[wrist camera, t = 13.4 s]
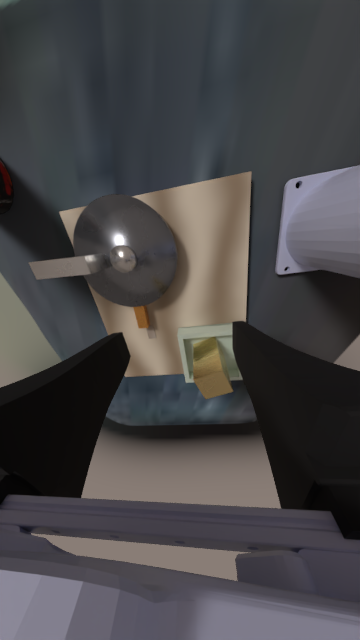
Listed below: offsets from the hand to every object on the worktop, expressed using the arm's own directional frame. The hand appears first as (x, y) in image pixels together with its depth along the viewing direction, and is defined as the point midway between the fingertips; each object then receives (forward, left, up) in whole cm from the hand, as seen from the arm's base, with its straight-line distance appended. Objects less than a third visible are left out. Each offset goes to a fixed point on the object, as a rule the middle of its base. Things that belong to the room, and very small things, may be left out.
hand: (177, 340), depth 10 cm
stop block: (-2, +8, -9) cm, 12 cm away
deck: (+2, +1, -10) cm, 10 cm away
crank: (+6, -4, -9) cm, 11 cm away
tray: (-3, +8, -9) cm, 12 cm away
